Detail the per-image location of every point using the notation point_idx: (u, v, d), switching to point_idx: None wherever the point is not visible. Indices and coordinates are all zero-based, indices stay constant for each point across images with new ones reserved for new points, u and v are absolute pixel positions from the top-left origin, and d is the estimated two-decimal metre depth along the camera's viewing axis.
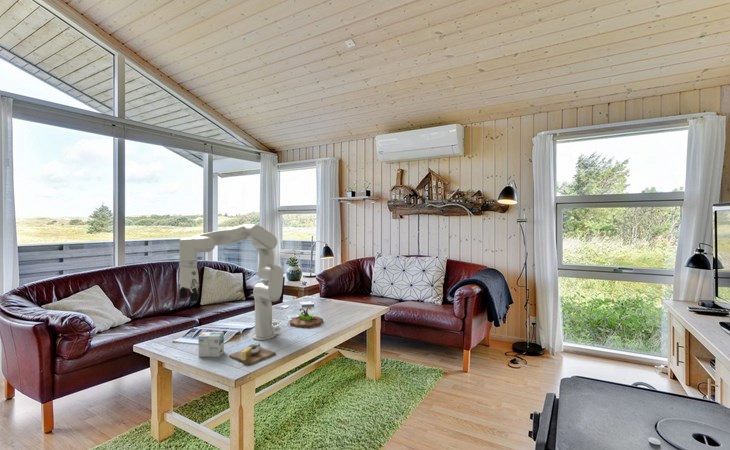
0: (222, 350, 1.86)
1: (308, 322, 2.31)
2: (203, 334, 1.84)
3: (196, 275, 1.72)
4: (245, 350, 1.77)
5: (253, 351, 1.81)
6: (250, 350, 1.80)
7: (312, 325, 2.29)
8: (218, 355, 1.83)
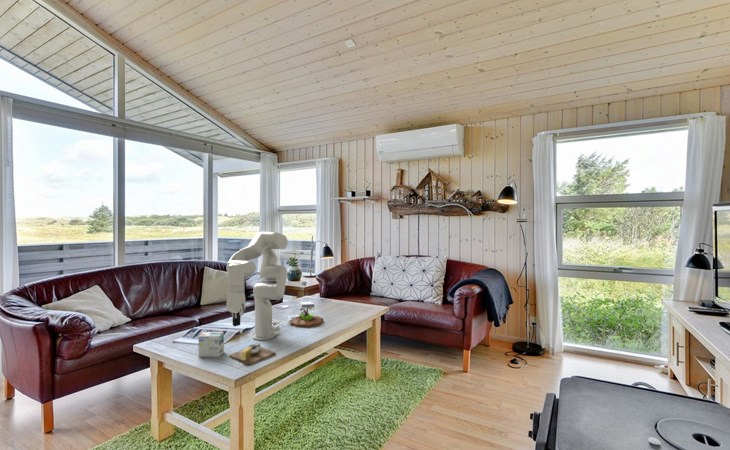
0: (222, 350, 1.86)
1: (308, 322, 2.31)
2: (203, 334, 1.84)
3: None
4: (245, 350, 1.77)
5: (253, 351, 1.81)
6: (250, 350, 1.80)
7: (312, 325, 2.30)
8: (218, 355, 1.83)
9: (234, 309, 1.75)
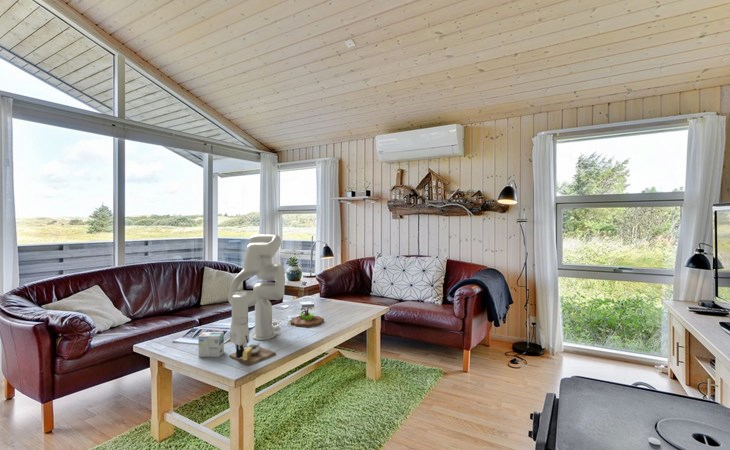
0: (222, 350, 1.86)
1: (308, 321, 2.32)
2: (203, 334, 1.84)
3: None
4: (246, 350, 1.77)
5: (253, 350, 1.82)
6: (251, 350, 1.80)
7: (311, 325, 2.30)
8: (218, 355, 1.83)
9: (237, 341, 1.74)
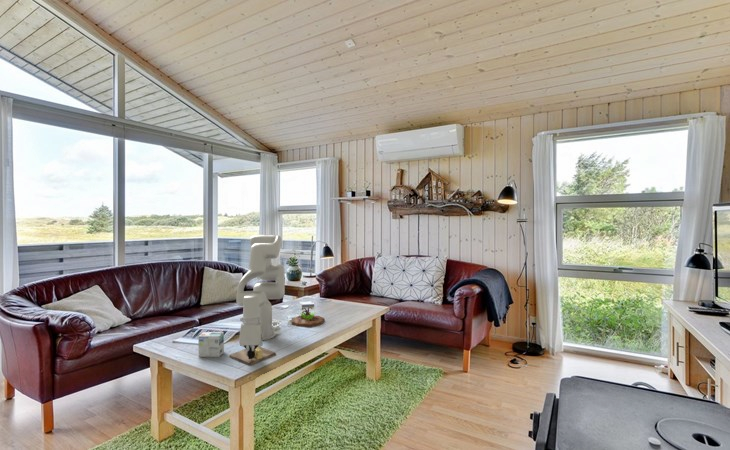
0: (222, 350, 1.86)
1: (308, 321, 2.33)
2: (203, 334, 1.84)
3: None
4: (258, 349, 1.79)
5: None
6: None
7: (312, 324, 2.31)
8: (218, 355, 1.83)
9: (255, 341, 1.73)
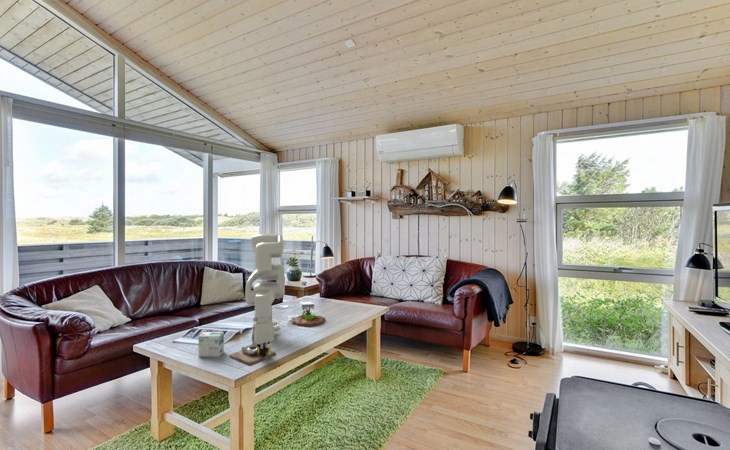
0: (222, 350, 1.86)
1: (309, 321, 2.33)
2: (203, 334, 1.84)
3: (254, 332, 1.75)
4: None
5: None
6: None
7: (313, 324, 2.32)
8: (218, 355, 1.83)
9: (270, 337, 1.79)
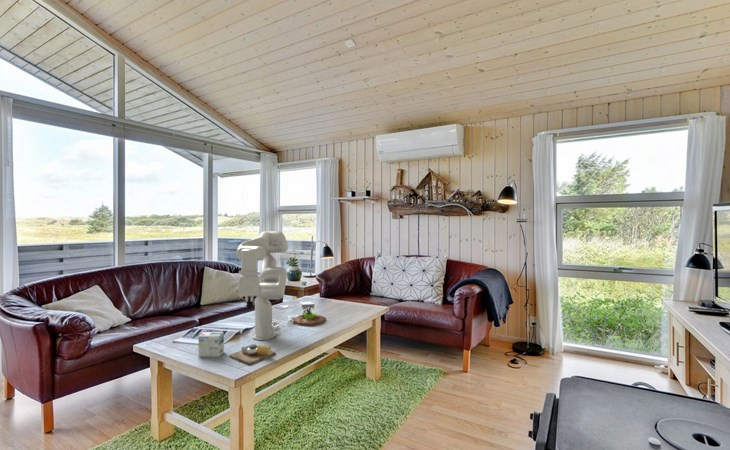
0: (222, 350, 1.86)
1: (310, 320, 2.34)
2: (203, 334, 1.84)
3: (239, 283, 1.82)
4: (266, 346, 1.83)
5: None
6: None
7: (313, 323, 2.33)
8: (218, 355, 1.83)
9: (254, 292, 1.82)
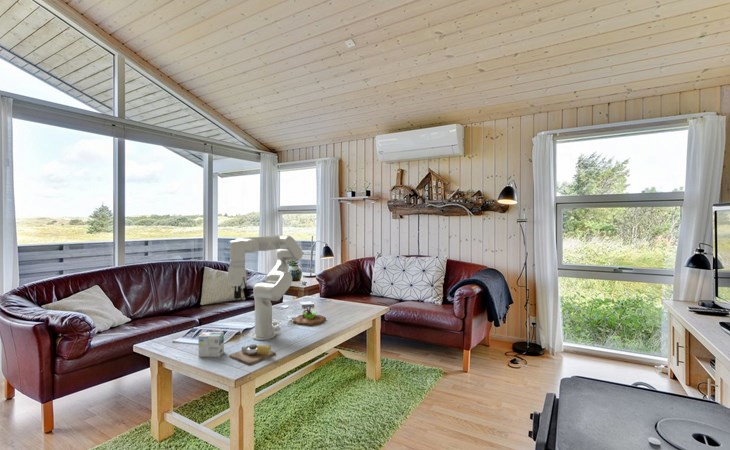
0: (222, 350, 1.86)
1: (310, 320, 2.35)
2: (203, 334, 1.84)
3: None
4: (266, 346, 1.83)
5: None
6: None
7: (313, 323, 2.33)
8: (218, 355, 1.83)
9: (236, 282, 1.88)
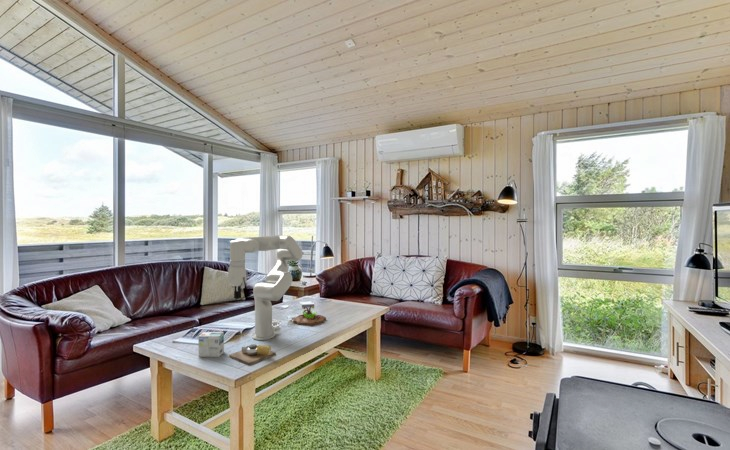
0: (222, 350, 1.86)
1: (310, 320, 2.35)
2: (203, 334, 1.84)
3: None
4: (266, 346, 1.83)
5: None
6: None
7: (313, 323, 2.33)
8: (218, 355, 1.83)
9: (236, 282, 1.88)
